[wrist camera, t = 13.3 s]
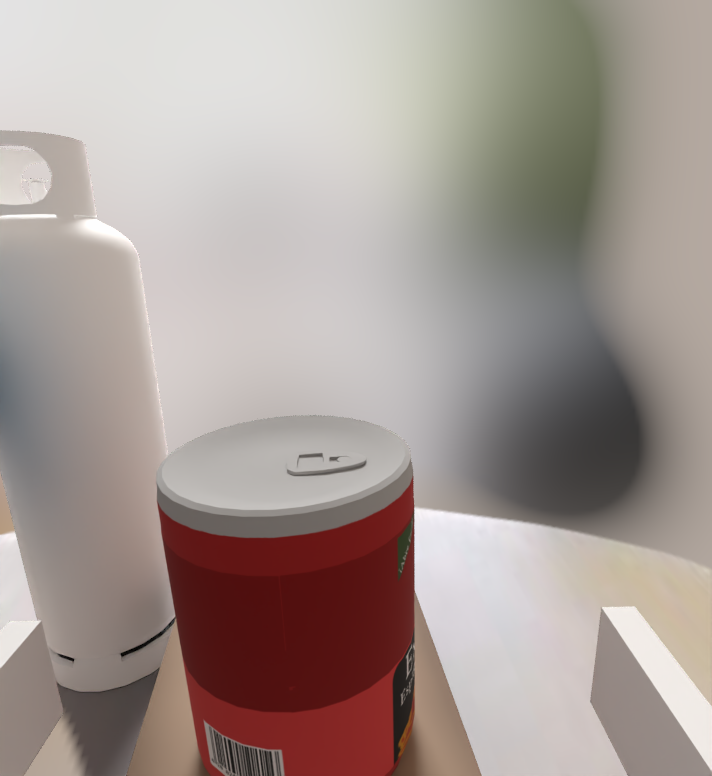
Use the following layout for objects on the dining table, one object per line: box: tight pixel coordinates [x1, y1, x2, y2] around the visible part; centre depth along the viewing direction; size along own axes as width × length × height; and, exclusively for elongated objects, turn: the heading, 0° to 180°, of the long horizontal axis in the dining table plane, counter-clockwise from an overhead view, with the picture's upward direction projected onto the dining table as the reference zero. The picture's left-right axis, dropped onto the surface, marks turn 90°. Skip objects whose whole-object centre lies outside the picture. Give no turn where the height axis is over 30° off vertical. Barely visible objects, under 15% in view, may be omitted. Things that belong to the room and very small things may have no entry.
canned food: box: [156, 415, 415, 776], centre depth 17 cm, size 8×8×11 cm
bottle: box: [0, 131, 176, 692], centre depth 27 cm, size 8×8×28 cm
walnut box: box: [126, 590, 482, 776], centre depth 23 cm, size 12×14×6 cm
